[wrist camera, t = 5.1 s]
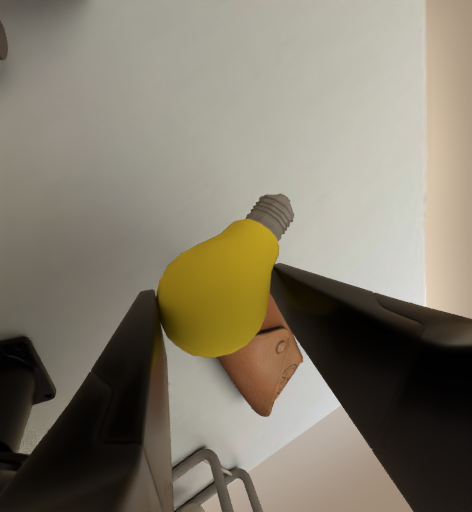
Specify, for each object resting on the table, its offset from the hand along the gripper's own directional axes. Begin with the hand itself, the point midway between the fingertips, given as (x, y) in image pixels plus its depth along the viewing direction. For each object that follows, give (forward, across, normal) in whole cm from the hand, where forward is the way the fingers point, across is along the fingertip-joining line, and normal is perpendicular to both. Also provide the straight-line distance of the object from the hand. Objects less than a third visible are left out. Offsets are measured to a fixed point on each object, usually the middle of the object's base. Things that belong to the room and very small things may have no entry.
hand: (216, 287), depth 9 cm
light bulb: (+1, 0, -1) cm, 2 cm away
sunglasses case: (+12, -7, +15) cm, 20 cm away
